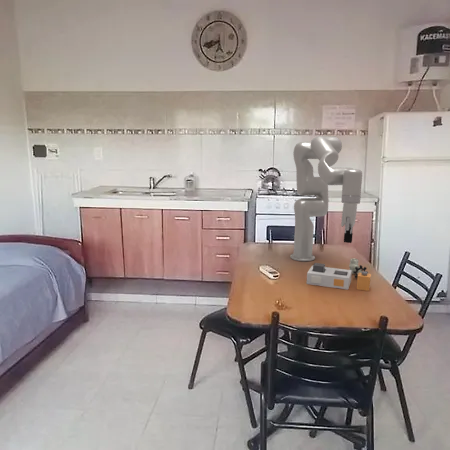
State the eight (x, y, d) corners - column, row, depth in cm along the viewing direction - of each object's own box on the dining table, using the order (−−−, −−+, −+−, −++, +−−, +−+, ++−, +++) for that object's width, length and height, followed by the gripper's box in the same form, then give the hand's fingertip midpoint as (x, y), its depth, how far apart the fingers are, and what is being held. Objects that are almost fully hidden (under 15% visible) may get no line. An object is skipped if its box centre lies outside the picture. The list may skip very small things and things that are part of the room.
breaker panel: (311, 275, 199) (312, 265, 198) (351, 281, 193) (351, 270, 192) (306, 284, 188) (307, 273, 186) (348, 289, 181) (349, 278, 180)
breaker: (314, 272, 194) (314, 262, 193) (324, 273, 192) (325, 264, 192) (312, 275, 190) (313, 265, 189) (322, 276, 188) (323, 266, 187)
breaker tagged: (335, 280, 191) (336, 270, 190) (346, 281, 190) (346, 271, 189) (334, 283, 187) (334, 273, 186) (345, 284, 186) (345, 274, 185)
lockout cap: (357, 285, 187) (358, 269, 185) (369, 287, 185) (371, 271, 184) (356, 289, 182) (357, 273, 181) (369, 291, 181) (370, 274, 179)
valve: (345, 271, 207) (352, 279, 195) (346, 258, 205) (354, 265, 194) (358, 271, 207) (367, 279, 195) (359, 258, 206) (368, 265, 194)
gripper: (343, 196, 188) (341, 237, 192) (339, 200, 175) (336, 245, 178) (361, 197, 185) (358, 239, 189) (358, 202, 172) (355, 247, 175)
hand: (347, 242), depth 184 cm, fingers closed
